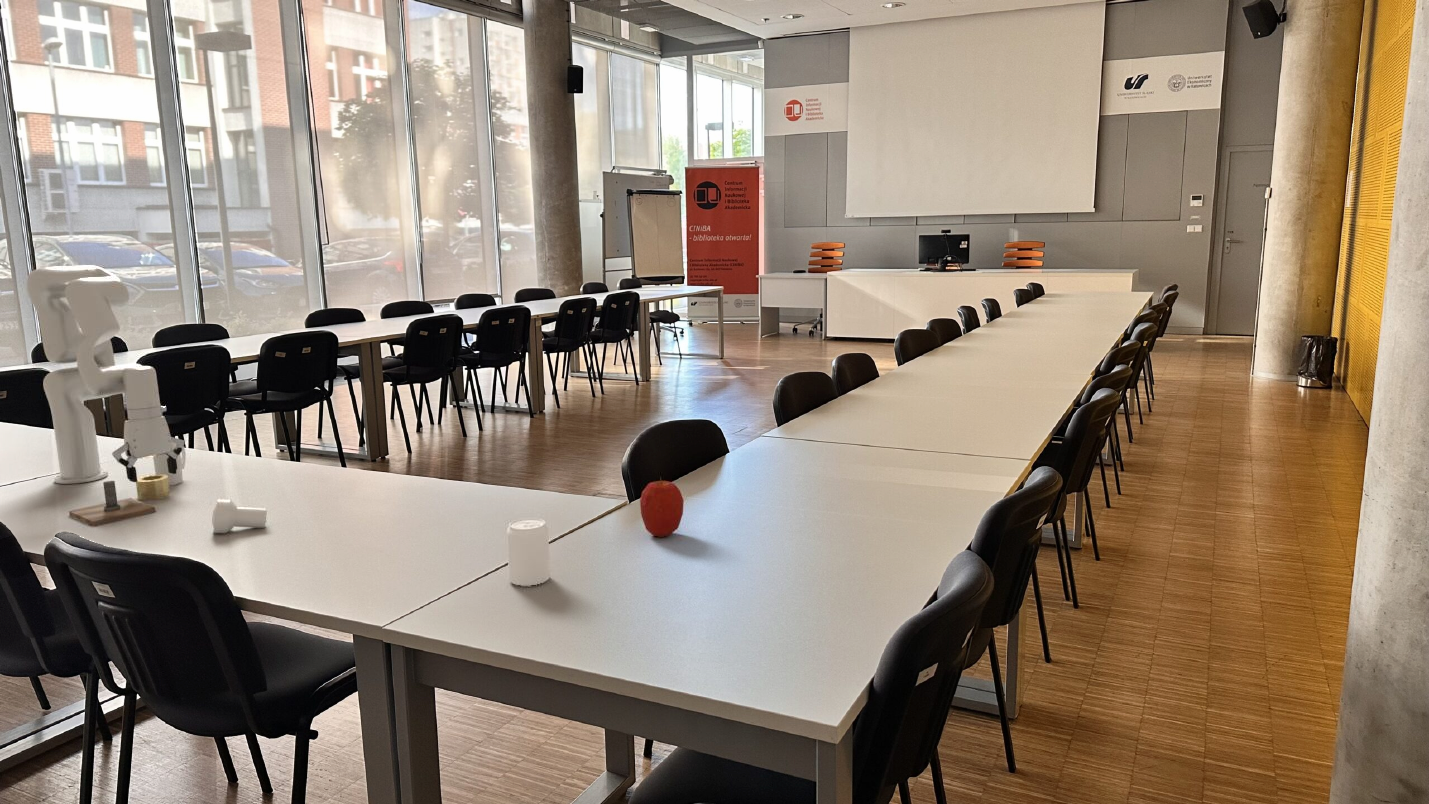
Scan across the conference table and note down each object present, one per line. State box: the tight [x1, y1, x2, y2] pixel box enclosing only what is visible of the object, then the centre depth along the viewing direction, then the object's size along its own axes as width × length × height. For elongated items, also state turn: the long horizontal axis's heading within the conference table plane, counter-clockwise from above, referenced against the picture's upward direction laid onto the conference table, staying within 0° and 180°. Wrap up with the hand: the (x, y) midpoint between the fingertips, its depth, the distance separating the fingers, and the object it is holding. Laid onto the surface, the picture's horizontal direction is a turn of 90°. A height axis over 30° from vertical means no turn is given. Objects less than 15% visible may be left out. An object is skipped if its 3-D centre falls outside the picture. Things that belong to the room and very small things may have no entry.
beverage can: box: [506, 517, 551, 587], centre depth 185 cm, size 8×8×12 cm
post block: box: [68, 480, 157, 527], centre depth 230 cm, size 14×14×8 cm
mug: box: [152, 442, 187, 487], centre depth 259 cm, size 10×7×12 cm, turn 169°
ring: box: [135, 474, 171, 501], centre depth 245 cm, size 7×7×5 cm
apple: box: [639, 476, 685, 538], centre depth 212 cm, size 10×10×14 cm
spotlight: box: [211, 497, 268, 534], centre depth 218 cm, size 8×11×8 cm
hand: (153, 477), depth 245 cm, fingers open, 9 cm apart
